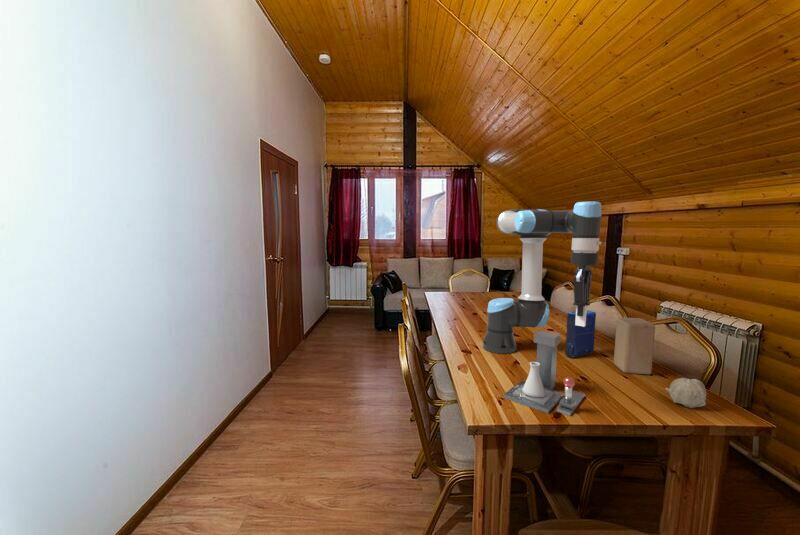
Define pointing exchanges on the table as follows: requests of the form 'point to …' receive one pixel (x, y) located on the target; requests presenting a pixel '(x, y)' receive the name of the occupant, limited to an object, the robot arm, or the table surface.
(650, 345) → the wooden block
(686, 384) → the garlic bulb
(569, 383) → the lever
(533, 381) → the flask
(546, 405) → the base
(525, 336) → the table surface
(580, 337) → the book
